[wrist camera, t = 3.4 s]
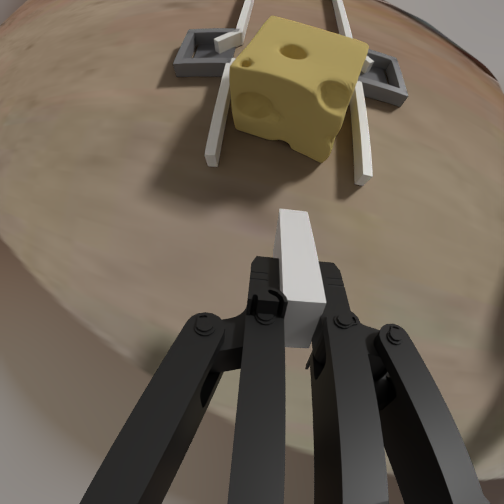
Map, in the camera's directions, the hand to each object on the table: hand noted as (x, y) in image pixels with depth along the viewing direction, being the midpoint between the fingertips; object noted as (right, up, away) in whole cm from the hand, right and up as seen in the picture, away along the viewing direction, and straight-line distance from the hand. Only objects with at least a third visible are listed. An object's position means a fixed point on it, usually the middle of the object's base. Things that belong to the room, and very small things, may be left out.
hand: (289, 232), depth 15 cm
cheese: (+2, +14, +13) cm, 20 cm away
